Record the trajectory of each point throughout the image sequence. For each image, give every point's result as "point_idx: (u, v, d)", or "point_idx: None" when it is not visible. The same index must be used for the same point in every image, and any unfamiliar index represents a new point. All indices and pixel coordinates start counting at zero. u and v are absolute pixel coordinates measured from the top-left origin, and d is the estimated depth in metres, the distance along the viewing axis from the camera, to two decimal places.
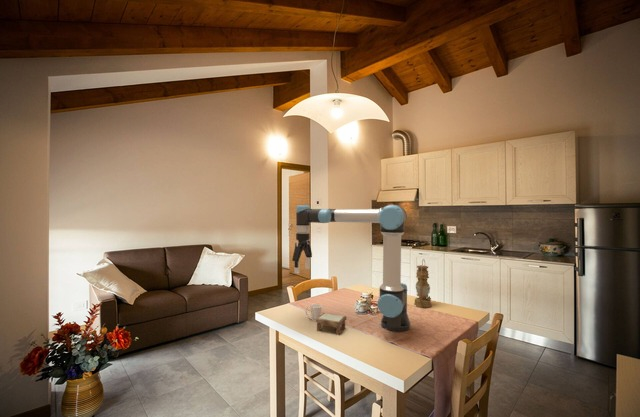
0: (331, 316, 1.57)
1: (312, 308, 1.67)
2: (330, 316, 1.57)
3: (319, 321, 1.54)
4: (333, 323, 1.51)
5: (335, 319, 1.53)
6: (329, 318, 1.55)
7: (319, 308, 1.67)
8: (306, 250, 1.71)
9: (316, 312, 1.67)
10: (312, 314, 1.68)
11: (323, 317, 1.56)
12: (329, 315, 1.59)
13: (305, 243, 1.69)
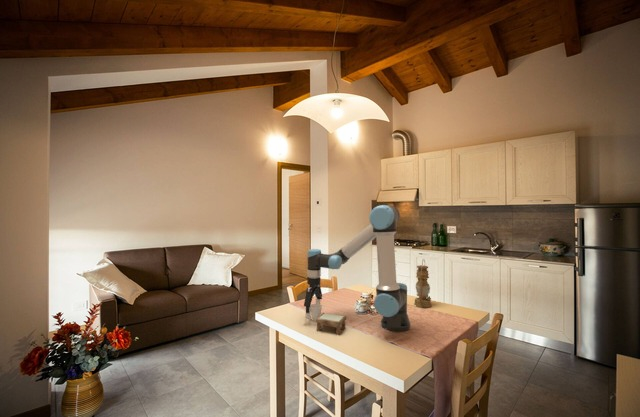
0: (331, 316, 1.57)
1: (312, 308, 1.67)
2: (330, 316, 1.57)
3: (319, 321, 1.54)
4: (333, 323, 1.51)
5: (335, 319, 1.53)
6: (329, 318, 1.55)
7: (319, 308, 1.67)
8: (317, 293, 1.74)
9: (316, 312, 1.67)
10: (312, 314, 1.68)
11: (323, 317, 1.56)
12: (329, 315, 1.59)
13: (316, 287, 1.71)
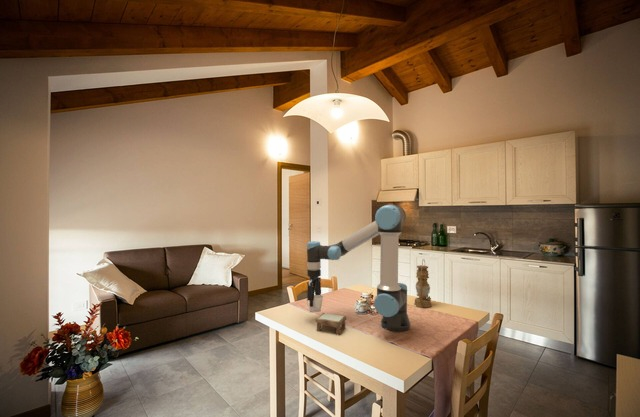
0: (331, 316, 1.57)
1: None
2: (330, 316, 1.57)
3: (319, 321, 1.54)
4: (333, 323, 1.51)
5: (335, 319, 1.53)
6: (329, 318, 1.55)
7: (320, 299, 1.67)
8: (316, 287, 1.72)
9: (317, 302, 1.66)
10: None
11: (323, 317, 1.56)
12: (329, 315, 1.59)
13: (316, 277, 1.71)
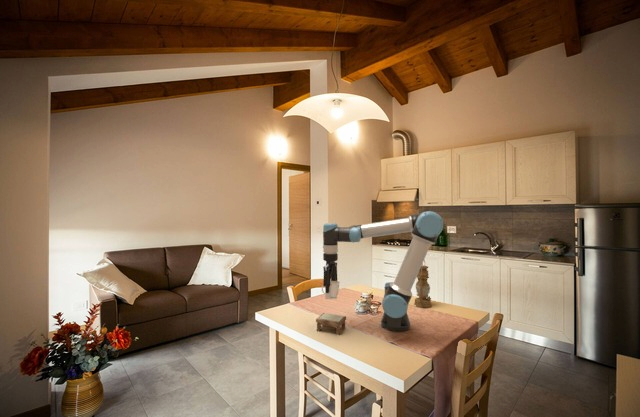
0: (331, 316, 1.57)
1: None
2: (330, 316, 1.57)
3: (319, 321, 1.54)
4: (333, 323, 1.51)
5: (335, 319, 1.53)
6: (329, 318, 1.55)
7: (337, 285, 1.54)
8: (333, 272, 1.59)
9: (334, 288, 1.54)
10: None
11: (323, 317, 1.56)
12: (329, 315, 1.59)
13: (333, 262, 1.58)
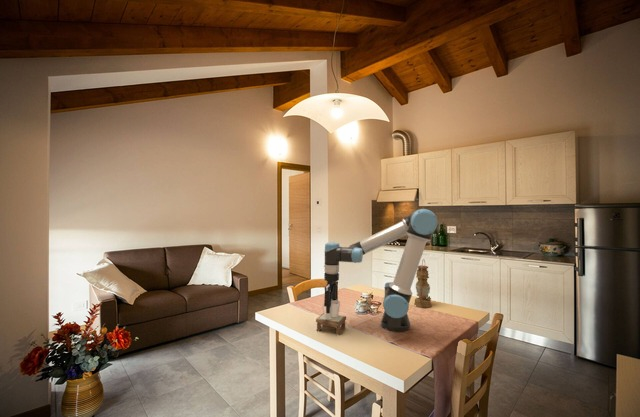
0: None
1: None
2: None
3: (319, 321, 1.54)
4: (333, 323, 1.51)
5: (335, 319, 1.53)
6: None
7: (337, 305, 1.53)
8: (333, 292, 1.58)
9: (334, 309, 1.53)
10: None
11: (323, 317, 1.56)
12: None
13: (334, 282, 1.57)
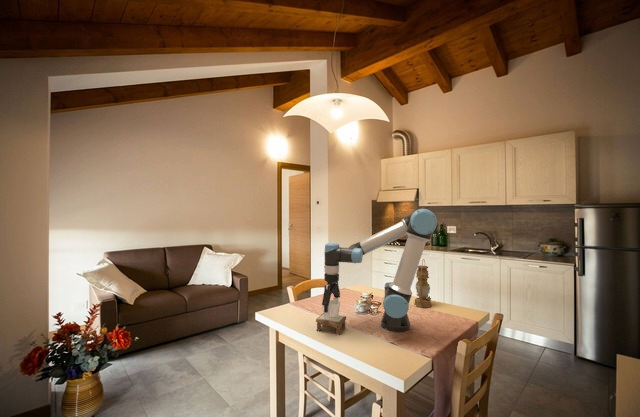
0: None
1: (330, 305, 1.53)
2: None
3: (319, 321, 1.54)
4: (333, 323, 1.51)
5: (335, 319, 1.53)
6: (329, 318, 1.55)
7: (337, 305, 1.53)
8: (335, 291, 1.60)
9: (334, 309, 1.53)
10: (330, 311, 1.54)
11: (323, 317, 1.56)
12: (329, 315, 1.59)
13: (334, 284, 1.57)
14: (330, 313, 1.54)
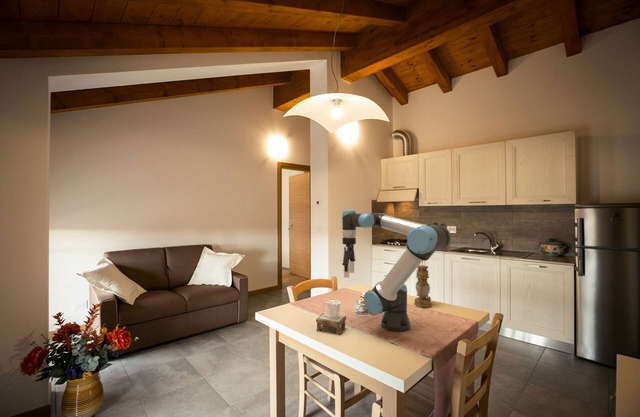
0: None
1: (330, 305, 1.53)
2: None
3: (319, 321, 1.54)
4: (333, 323, 1.51)
5: (335, 319, 1.53)
6: (329, 318, 1.55)
7: (337, 305, 1.53)
8: (351, 254, 1.73)
9: (334, 309, 1.53)
10: (330, 311, 1.54)
11: (323, 317, 1.56)
12: (329, 315, 1.59)
13: (351, 247, 1.70)
14: (330, 313, 1.54)
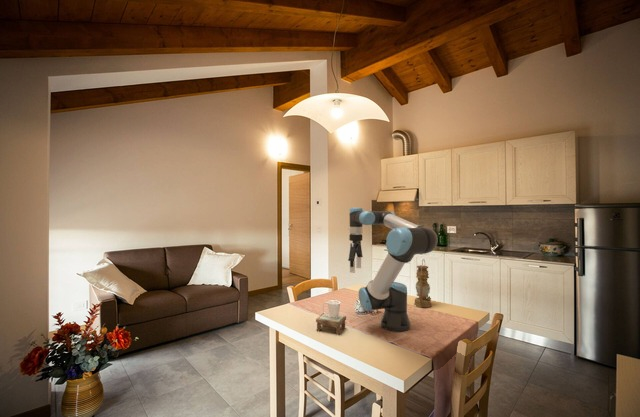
0: None
1: (330, 305, 1.53)
2: None
3: (319, 321, 1.54)
4: (333, 323, 1.51)
5: (335, 319, 1.53)
6: (329, 318, 1.55)
7: (337, 305, 1.53)
8: (358, 250, 1.79)
9: (334, 309, 1.53)
10: (330, 311, 1.54)
11: (323, 317, 1.56)
12: (329, 315, 1.59)
13: (358, 243, 1.77)
14: (330, 313, 1.54)
